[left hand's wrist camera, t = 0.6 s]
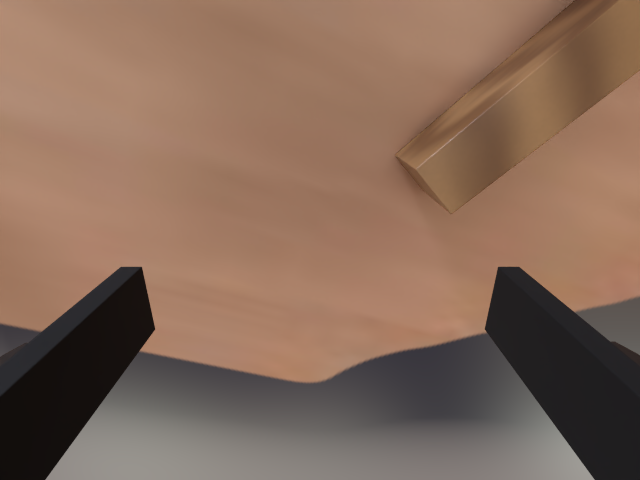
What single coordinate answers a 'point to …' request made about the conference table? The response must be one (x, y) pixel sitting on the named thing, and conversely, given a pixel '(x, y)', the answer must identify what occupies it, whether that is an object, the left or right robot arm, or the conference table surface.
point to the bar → (526, 100)
